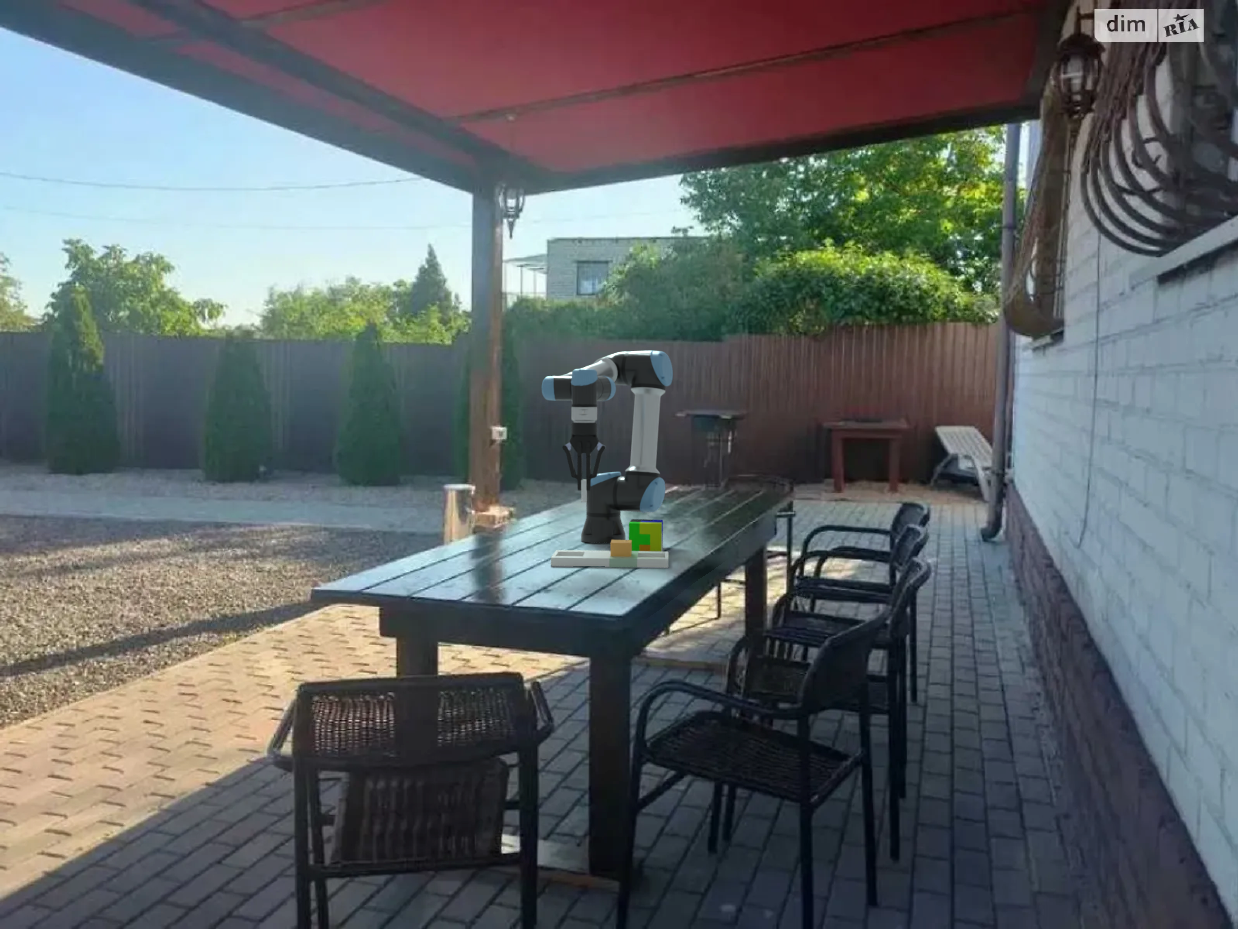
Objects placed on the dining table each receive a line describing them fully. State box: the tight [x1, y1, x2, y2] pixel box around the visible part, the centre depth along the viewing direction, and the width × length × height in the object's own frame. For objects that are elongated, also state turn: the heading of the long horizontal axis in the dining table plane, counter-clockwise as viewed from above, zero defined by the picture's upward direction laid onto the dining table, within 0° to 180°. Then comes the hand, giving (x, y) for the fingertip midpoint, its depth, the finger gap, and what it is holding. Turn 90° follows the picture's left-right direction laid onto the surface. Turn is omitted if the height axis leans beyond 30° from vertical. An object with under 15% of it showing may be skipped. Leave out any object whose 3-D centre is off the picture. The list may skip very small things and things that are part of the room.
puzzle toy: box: [628, 518, 664, 552], centre depth 317 cm, size 10×10×10 cm
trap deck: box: [550, 549, 669, 569], centre depth 298 cm, size 14×34×2 cm, turn 87°
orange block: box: [609, 539, 632, 557], centre depth 298 cm, size 6×6×4 cm
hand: (584, 501), depth 297 cm, fingers closed
